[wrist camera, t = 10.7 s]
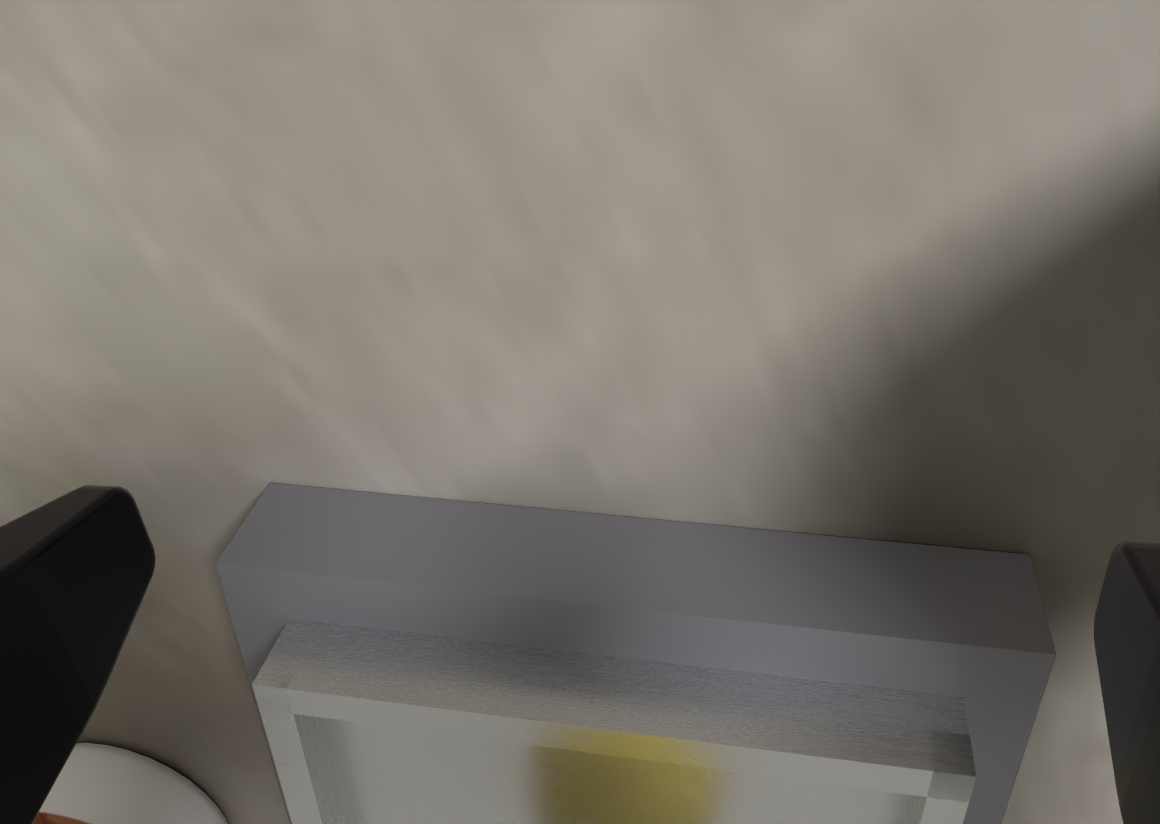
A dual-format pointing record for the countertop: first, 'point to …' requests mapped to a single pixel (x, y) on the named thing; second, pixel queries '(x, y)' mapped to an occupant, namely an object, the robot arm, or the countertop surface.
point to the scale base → (657, 599)
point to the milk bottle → (123, 791)
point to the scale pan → (592, 738)
